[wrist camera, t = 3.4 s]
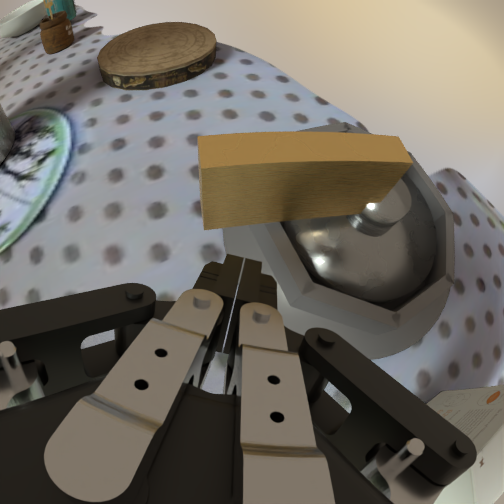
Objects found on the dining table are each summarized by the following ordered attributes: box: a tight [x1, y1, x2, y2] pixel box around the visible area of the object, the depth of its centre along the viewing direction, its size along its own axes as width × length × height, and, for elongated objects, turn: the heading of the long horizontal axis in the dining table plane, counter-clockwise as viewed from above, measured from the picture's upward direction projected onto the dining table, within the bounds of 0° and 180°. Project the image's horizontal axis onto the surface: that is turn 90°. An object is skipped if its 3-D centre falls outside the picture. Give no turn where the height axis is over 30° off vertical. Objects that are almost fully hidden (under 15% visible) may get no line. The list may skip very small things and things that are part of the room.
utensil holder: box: [40, 0, 74, 54], centre depth 28 cm, size 6×6×12 cm
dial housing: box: [223, 122, 454, 360], centre depth 22 cm, size 22×22×4 cm
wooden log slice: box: [97, 22, 216, 90], centre depth 31 cm, size 16×16×3 cm
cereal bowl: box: [0, 0, 47, 38], centre depth 36 cm, size 17×17×7 cm
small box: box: [427, 385, 504, 504], centre depth 13 cm, size 8×6×10 cm
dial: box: [198, 132, 437, 306], centre depth 19 cm, size 20×14×9 cm
